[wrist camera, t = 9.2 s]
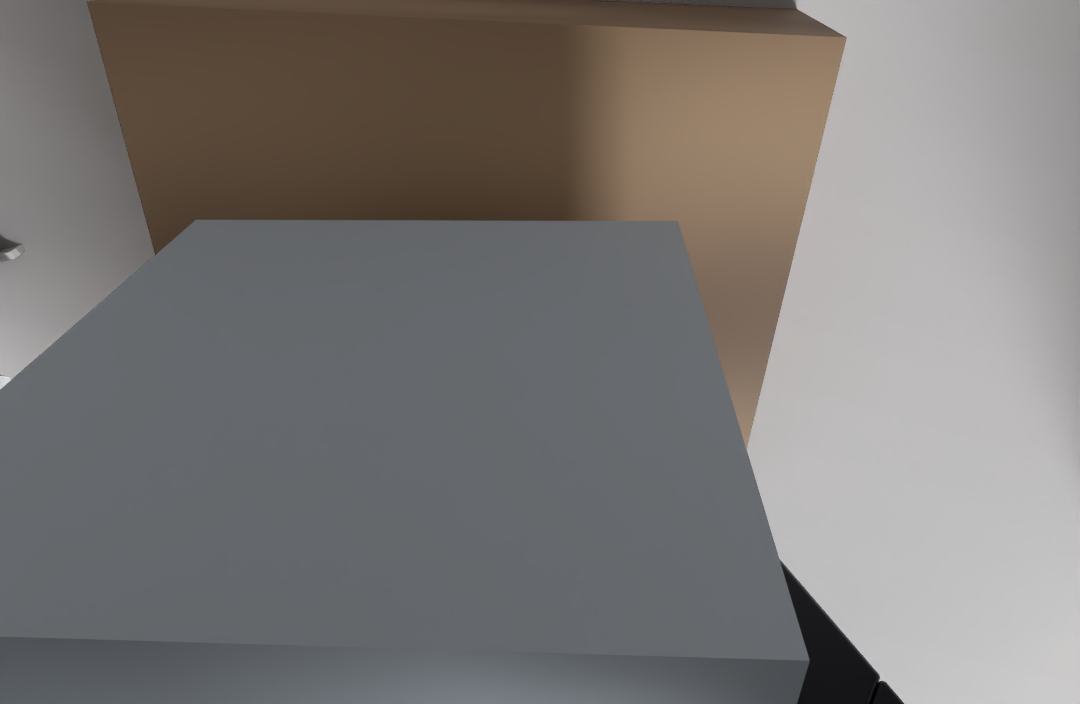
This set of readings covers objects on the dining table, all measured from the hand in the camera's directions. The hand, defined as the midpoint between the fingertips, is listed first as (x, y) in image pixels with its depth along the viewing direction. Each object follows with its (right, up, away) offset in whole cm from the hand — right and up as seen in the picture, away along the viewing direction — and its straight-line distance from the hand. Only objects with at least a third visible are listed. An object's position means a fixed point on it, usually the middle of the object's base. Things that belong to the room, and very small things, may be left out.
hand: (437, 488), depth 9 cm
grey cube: (0, +1, +1) cm, 2 cm away
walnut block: (0, +4, +5) cm, 7 cm away
